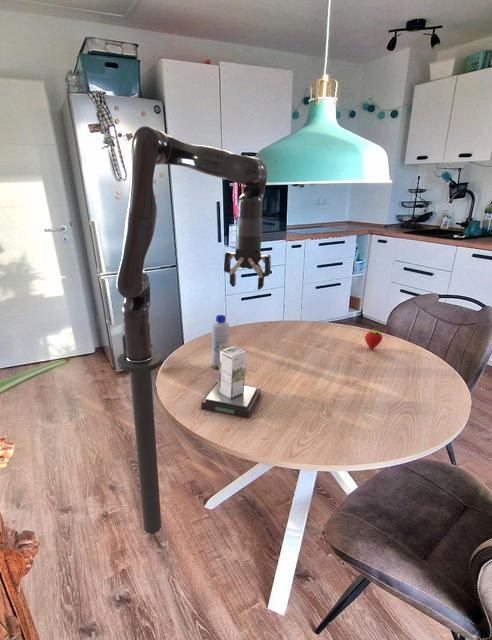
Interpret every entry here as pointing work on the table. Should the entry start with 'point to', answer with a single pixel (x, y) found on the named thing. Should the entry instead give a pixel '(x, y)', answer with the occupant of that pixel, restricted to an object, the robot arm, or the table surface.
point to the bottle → (219, 338)
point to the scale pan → (238, 401)
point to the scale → (231, 409)
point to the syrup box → (232, 371)
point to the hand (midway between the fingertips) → (246, 287)
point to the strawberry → (373, 338)
